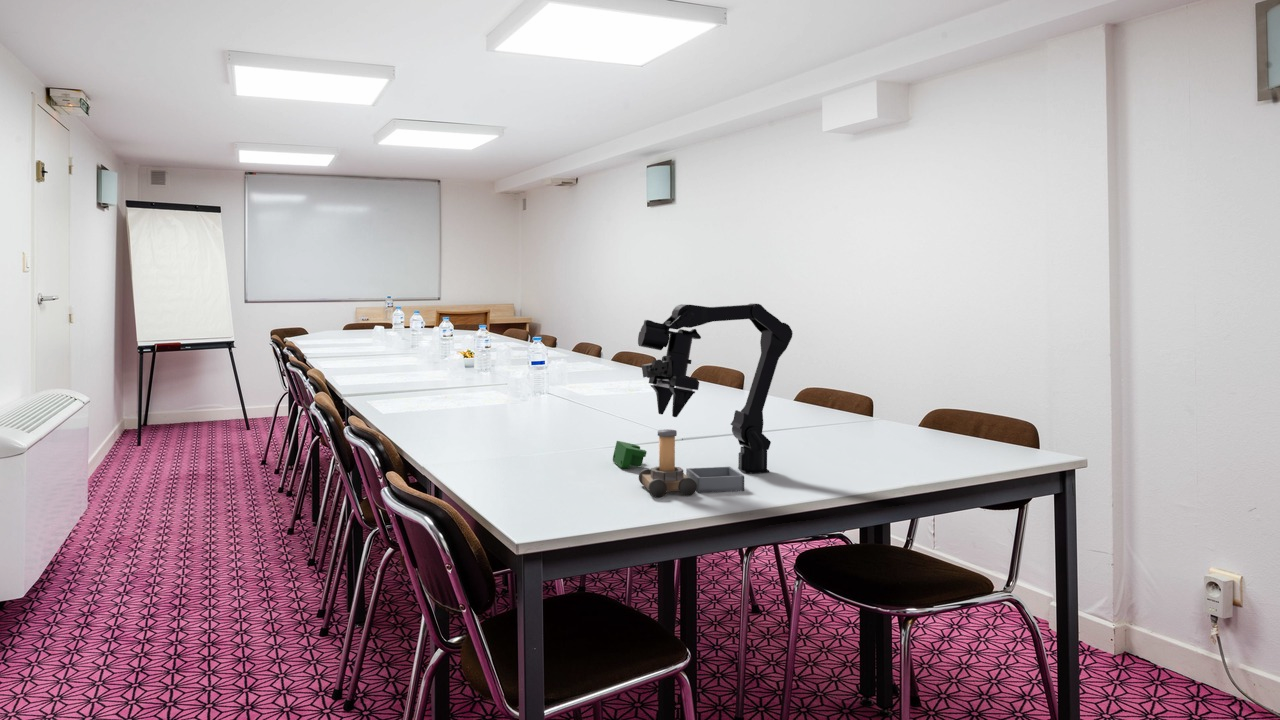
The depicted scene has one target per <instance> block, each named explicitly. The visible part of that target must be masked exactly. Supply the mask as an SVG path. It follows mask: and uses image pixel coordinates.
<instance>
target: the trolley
mask: <svg viewBox="0 0 1280 720" xmlns="http://www.w3.org/2000/svg"><path fill="white" fill-rule="evenodd" d="M638 482H639V483H640V484H641V485H642V486H644V487H645V488H646V489H647V490H648V492H649V494H650V495H651V496H652V497H654V498H661V497H664V496H665V494H666V493H667V492H680V493H681V494H682V495H683V496H685V497H690V496H693V495H694V494H695V493H696V492H697V491H696V489H697V484H696V482H695V481H694V480H693V479H691V478H689V477H687V476H686V474H685V473H684V469H683V468H682V467H680V466H675V471H672V472H663V471H659V465H658V466H654V467H651V468H645V469H642V470H641V471H640V472H639V474H638Z"/></svg>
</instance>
